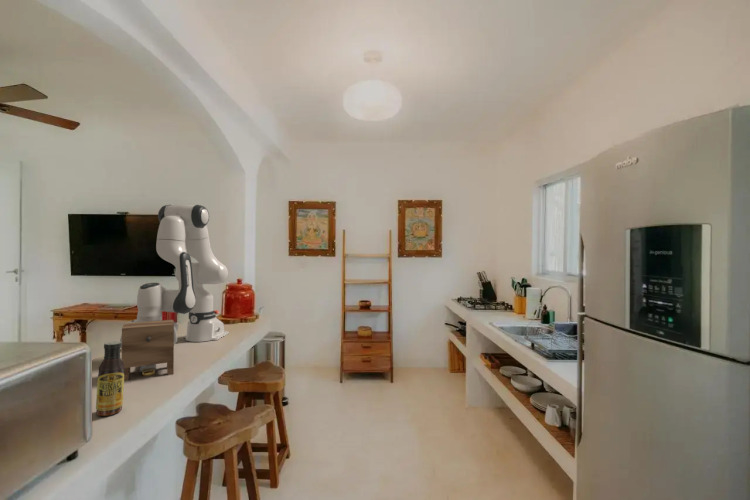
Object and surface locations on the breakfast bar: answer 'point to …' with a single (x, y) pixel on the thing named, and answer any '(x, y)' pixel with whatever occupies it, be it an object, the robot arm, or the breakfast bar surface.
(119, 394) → the sauce bottle
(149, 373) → the brass disc
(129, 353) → the walnut cabinet
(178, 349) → the breakfast bar surface
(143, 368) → the scraper
